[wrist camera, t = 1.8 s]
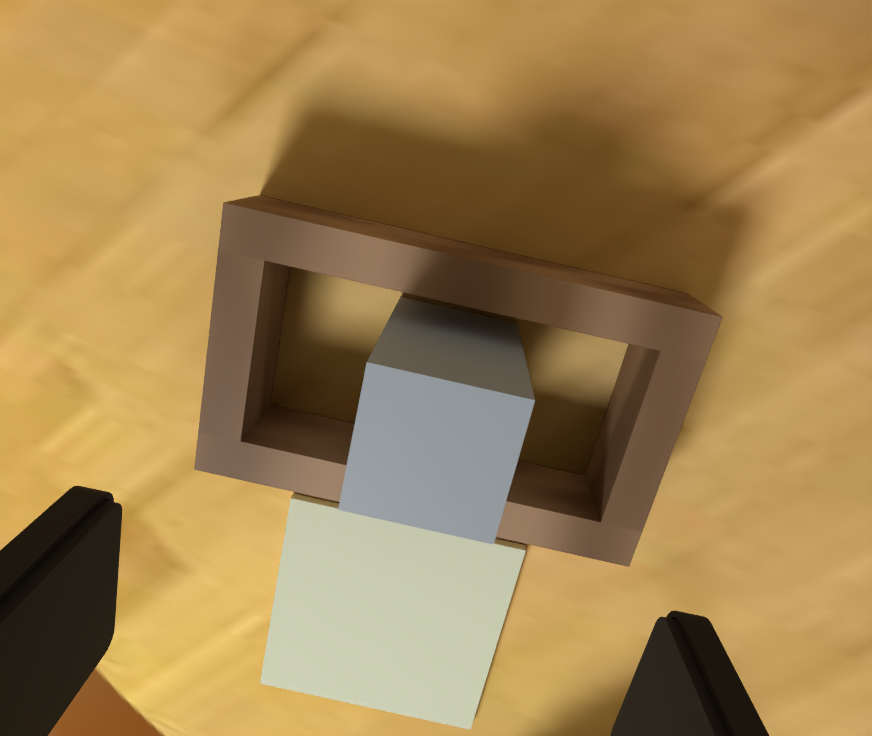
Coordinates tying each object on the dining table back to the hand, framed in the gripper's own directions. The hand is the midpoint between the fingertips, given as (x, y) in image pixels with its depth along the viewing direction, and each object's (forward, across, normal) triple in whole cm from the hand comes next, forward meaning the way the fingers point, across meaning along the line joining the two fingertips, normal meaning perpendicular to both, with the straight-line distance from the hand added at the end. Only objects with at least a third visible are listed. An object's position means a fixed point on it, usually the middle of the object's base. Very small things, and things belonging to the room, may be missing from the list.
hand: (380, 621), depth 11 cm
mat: (+15, -1, +12) cm, 19 cm away
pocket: (+15, -1, 0) cm, 15 cm away
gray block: (+15, -1, 0) cm, 15 cm away
